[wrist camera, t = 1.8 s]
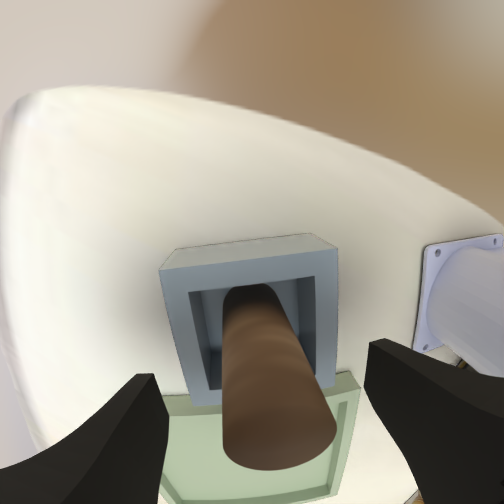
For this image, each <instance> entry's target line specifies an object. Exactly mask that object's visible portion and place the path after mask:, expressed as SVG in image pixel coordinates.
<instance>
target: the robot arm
mask: <svg viewBox="0 0 504 504" xmlns="http://www.w3.org/2000/svg"><path fill="white" fill-rule="evenodd" d="M503 241H504V238H503V235H502V234H493V235H487V236H481V237H476V238H470V239H464V240H458V241H451V242H445V243H439V244H433V245H429V246H427V247H426V248H425V251H424V261H423V276H422V287H421V297H420V305H419V313H418V320H417V327H416V333H415V339H414V344H413V350H412V349H410V348H408V347H405V346H403V345H401V344H398V343H396V342H394V341H391V340H388V339H385V338H383V339H380V340H376V341H372V342H369V350H368V358H367V366H366V374H365V381H364V389H365V391H366V394H367V396H368V398H369V400H370V402H371V404H372V407H373V409H374V410H375V412H376V413H377V415H378V417H379V418H380V420H381V421H382V423H383V424H384V426H385V427H386V429H387V430H388V432H389V433H390V435H391V437H392V438H393V440H394V441H395V443H396V444H397V446H398V447H399V449H400V450H401V452H402V454H403V455H404V457H405V459H406V461H407V463H408V465H409V467H410V470H411V472H412V474H413V476H414V478H415V481H416V483H417V486H418V488H419V491H420V494H421V496H422V499H423V502H424V504H504V247H503ZM436 250H437V253H436V255H435V252H436ZM424 345H425V346H424ZM442 345H446V346H447V347H448V348H450V349H451V350H452V351H453V352H455V353H456V354H457V355H458V356H460V357H461V358H462V359H463V360H464V361H466V362H467V363H468V364H469V365H470V366H472V367H473V368H474V369H475V370H476V371H478V372H479V373H476V372H472V371H468V370H465V369H462V368H459V367H456V366H453V365H450V364H447V363H444V362H441V361H439V360H436V359H434V358H431V357H429V356H426V355H424V354H422V353H424V352H427V351H430V350H432V349H435V348H437V347H440V346H442ZM169 419H170V416H169V413H168V411H167V408H166V406H165V403H164V401H163V398H162V395H161V393H160V390H159V387H158V385H157V382H156V379H155V376H154V373H147V374H136V375H135V376H134V377H132V378H131V379H130V380H129V381H128V382H127V383H126V384H125V385H124V386H123V387H122V388H121V389H120V390H119V391H118V392H117V393H116V394H115V395H114V396H113V397H112V398H111V399H110V400H109V401H108V402H107V403H106V404H105V405H104V406H103V407H101V408H100V409H99V410H98V411H97V412H96V413H95V414H94V415H92V416H91V417H90V418H89V419H88V420H87V421H86V422H84V423H83V424H82V425H81V426H80V427H79V428H77V429H76V430H75V431H73V432H72V433H71V434H69V435H68V436H67V437H65V438H64V439H62V440H61V441H59V442H58V443H56V444H55V445H53V446H51V447H50V448H48V449H46V450H44V451H42V452H40V453H38V454H37V455H35V456H33V457H31V458H29V459H27V460H24V461H22V462H20V463H17V464H15V465H12V466H9V467H6V468H3V469H0V504H157V502H158V493H159V487H160V482H161V476H162V471H163V466H164V461H165V455H166V450H167V445H168V437H169Z"/></svg>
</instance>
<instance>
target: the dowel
mask: <svg viewBox="0 0 504 504" xmlns="http://www.w3.org/2000/svg"><path fill="white" fill-rule="evenodd" d="M336 432H337V423H336V420H335V418H334V416H333V414H332V412H331V410H330V408H329V405H328V403H327V401H326V399H325V397H324V395H323V392H322V390H321V388H320V386H319V384H318V382H317V380H316V377H315V375H314V373H313V371H312V369H311V367H310V364H309V362H308V360H307V358H306V356H305V354H304V352H303V350H302V347H301V345H300V343H299V341H298V339H297V337H296V335H295V332H294V330H293V328H292V326H291V324H290V322H289V320H288V317H287V315H286V313H285V311H284V309H283V307H282V305H281V303H280V300H279V298H278V296H277V294H276V293H275V291H274V290H273V289H272V288H271V287H270V286H268V285H267V284H265V283H259V284H251V285H243V286H235V287H233V288H231V289H230V291H229V292H228V293H227V294H226V296H225V298H224V301H223V317H222V439H223V450H224V452H225V454H226V455H227V457H228V458H229V459H230V460H232V461H233V462H234V463H236V464H238V465H240V466H243V467H245V468H249V469H253V470H261V471H275V470H283V469H288V468H292V467H296V466H299V465H301V464H304V463H306V462H308V461H310V460H312V459H314V458H315V457H317V456H319V455H320V454H321V453H322V452H324V451H325V450H326V449H327V448H328V447H329V446H330V444H331V443H332V442H333V440H334V438H335V436H336Z"/></svg>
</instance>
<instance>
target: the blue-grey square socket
mask: <svg viewBox="0 0 504 504" xmlns="http://www.w3.org/2000/svg"><path fill="white" fill-rule="evenodd" d="M159 275H160V281H161V285H162V290H163V295H164V300H165V304H166V309H167V313H168V317H169V322H170V326H171V330H172V334H173V338H174V342H175V346H176V349H177V353H178V357H179V360H180V364H181V368H182V371H183V375H184V378H185V381H186V385H187V388H188V391H189V394H190V398H191V401H192V404H193V406H207V405H220V404H222V317H223V301H224V298H225V296H226V294H227V293H228V292H229V291H230V289H231V288H233V287H235V286H243V285H251V284H259V283H265V284H267V285H268V286H270V287H271V288H272V289H273V290H274V291H275V293H276V294H277V296H278V298H279V300H280V303H281V305H282V307H283V309H284V311H285V313H286V315H287V317H288V320H289V322H290V324H291V326H292V328H293V330H294V332H295V335H296V337H297V339H298V341H299V343H300V345H301V347H302V350H303V352H304V354H305V356H306V358H307V360H308V362H309V364H310V367H311V369H312V371H313V373H314V375H315V377H316V380H317V382H318V384H319V386H320V388H321V389H324V388H328V387H332V386H335V375H336V358H337V335H338V249H337V248H336V247H334V246H333V245H331V244H329V243H327V242H326V241H324V240H322V239H320V238H318V237H317V236H315V235H313V234H311V233H307V234H298V235H289V236H280V237H272V238H263V239H255V240H246V241H238V242H230V243H222V244H213V245H205V246H197V247H189V248H181V249H175V250H174V252H173V253H172V254H171V255H170V256H169V258H168V259H167V260H166V261H165V263H164V264H163V265H162V266H161V268H160V269H159Z"/></svg>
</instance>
